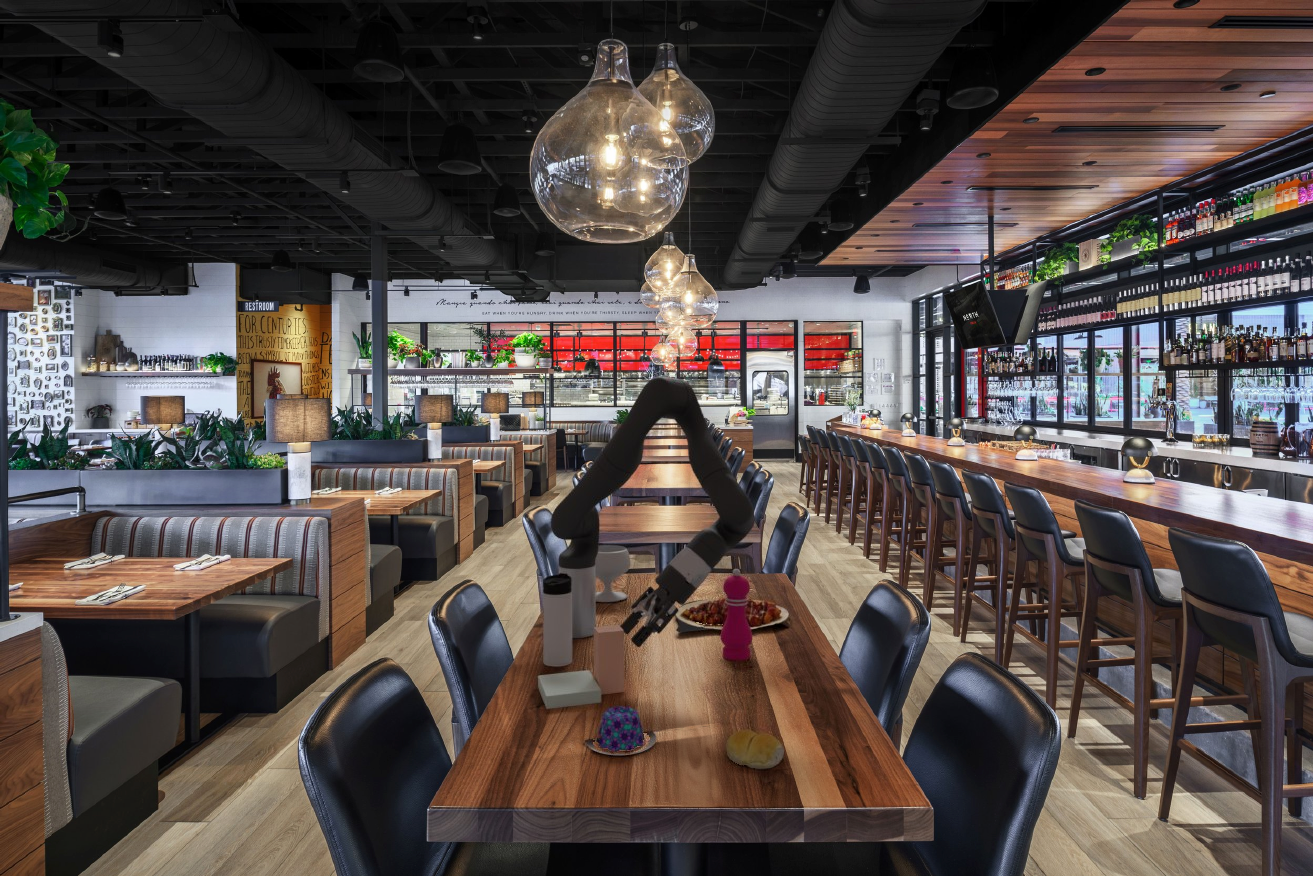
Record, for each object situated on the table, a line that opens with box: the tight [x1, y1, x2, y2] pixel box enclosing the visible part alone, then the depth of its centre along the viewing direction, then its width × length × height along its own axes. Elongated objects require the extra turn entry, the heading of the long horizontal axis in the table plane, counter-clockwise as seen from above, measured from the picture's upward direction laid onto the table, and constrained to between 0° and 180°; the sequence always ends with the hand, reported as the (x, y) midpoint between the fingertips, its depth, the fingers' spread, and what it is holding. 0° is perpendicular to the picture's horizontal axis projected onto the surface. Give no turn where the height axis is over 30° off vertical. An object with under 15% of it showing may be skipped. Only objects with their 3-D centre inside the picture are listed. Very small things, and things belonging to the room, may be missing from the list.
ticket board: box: [537, 669, 602, 710], centre depth 141 cm, size 32×12×4 cm, turn 107°
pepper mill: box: [720, 568, 753, 662], centre depth 165 cm, size 7×7×20 cm
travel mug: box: [542, 573, 573, 667], centre depth 158 cm, size 6×7×20 cm
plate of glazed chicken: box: [674, 597, 791, 633], centre depth 194 cm, size 31×35×7 cm
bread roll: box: [725, 729, 785, 770], centre depth 116 cm, size 8×9×4 cm
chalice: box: [595, 544, 632, 603], centre depth 217 cm, size 14×14×15 cm
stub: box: [593, 624, 625, 696], centre depth 141 cm, size 5×4×12 cm
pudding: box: [584, 705, 657, 756], centre depth 122 cm, size 12×12×5 cm
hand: (628, 637), depth 142 cm, fingers open, 8 cm apart
